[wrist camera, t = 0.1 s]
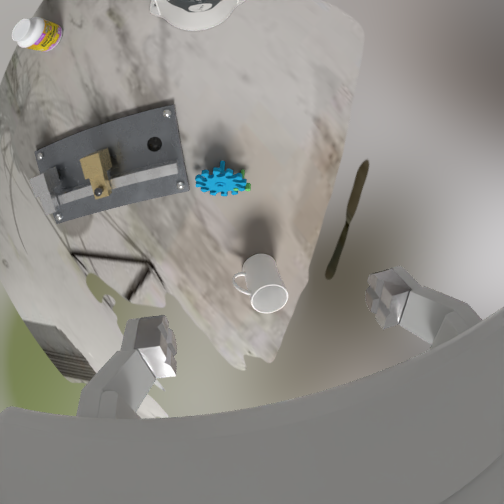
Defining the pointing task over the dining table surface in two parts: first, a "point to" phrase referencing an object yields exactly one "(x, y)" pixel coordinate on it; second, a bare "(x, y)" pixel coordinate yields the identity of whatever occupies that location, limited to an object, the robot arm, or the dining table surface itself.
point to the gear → (222, 181)
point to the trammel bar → (50, 179)
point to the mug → (263, 283)
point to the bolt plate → (118, 160)
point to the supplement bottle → (37, 34)
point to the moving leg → (98, 172)
